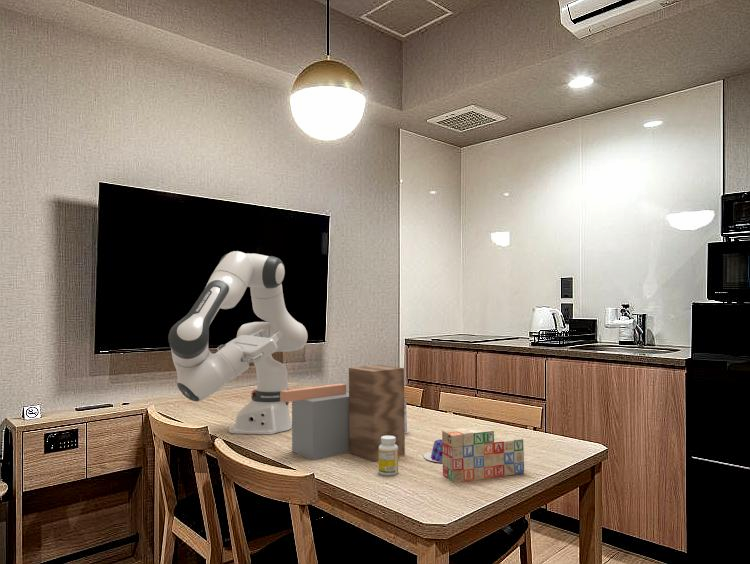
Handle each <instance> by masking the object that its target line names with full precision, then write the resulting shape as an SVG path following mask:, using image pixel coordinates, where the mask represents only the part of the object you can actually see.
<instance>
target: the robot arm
mask: <svg viewBox="0 0 750 564" xmlns="http://www.w3.org/2000/svg"><path fill="white" fill-rule="evenodd" d="M285 275H286V269H285V264H284V263H283V261H282V260H281V259H280V258H279V257H276V256H273V255H270V256H269V255H265V254H259V253H254V252H253V253H249V252H247V253H245V252H243V251H239V250H236V251H235V250H233V251H230V252H229V253H228V252H227V253H226V254H224V255H223V256H222V257H221V259H220V260H219V263H218V264H217V266H216V267H215V269H214V271H213V272H212V273H211V275H210V277H209V279H208V282H207V283H206V286H205V287H204V289H203V291H202V292H201V293H200V295H199V297H198V299H197V300H196V301H195V303H194V304H193V305H192V307H191V309H190V310H189V312H188V313H187V314H186V315H185V316H183V317H182V318H181V319H180V320H178V321H177V322H176V323H175V324H174V325H172V326H171V328H170V330H169V333H168V337H167V339H168V344H169V347H170V351H171V358H172V362H173V365H174V367H175V370H176V376H177V383H176V386H177V388H178V390H179V391H180V393H182V395H183V396H184V397H185V398H187V399H188V400H189V401H192V402H200V401H203V400H205V399H208V398H209V397H210V396H212V395H213V394H215V393H217V392H218V391H220V390H222V388H223V387H224V386H225V385H226V384H227V383H228V382H230V381H232V380H235V379H236V378H237V377H239V376H240V375H241V374H243V373H244V372H246V371H247V370H248V369H249V368H250V363H253V364H254V367H255V371H256V373H255V375H256V388H255V389H253V390H252V391H251V396H250V397H251V400H250V402H248V403H247V404H246V405H244V406H243V407H242V408H241V409H239V411H238V412H237V414H236V417H235V423H233V424H232V425H230V426H229V428H228V432H229V433H230V434H238V435H239V434H244V435H248V434H249V435H273V434H277V433H281V432H286V431H288V430H289V431H290V430H292V420H291V416H290V410H289V409H290V408H289V404H290V402H282V401H280V391H283V390H290V389H289V388H288V382H289V381H288V375H289V374H288V368H287V367H286V365H285V364H284V363H282V362H280V361H278V360H276V359H275V358H274V357H273V355H272V354H274V353H276V352H277V353H278V352H281V353H282V352H284V353H285V352H286V353H287V352H289V353H291V352H294V351H299V350H302V349H303V348H304V347H305V346H306V344H307V341H308V338H309V337H308V335H309V334H308V331H307V329H306V327H305V325H303V323H301V322H299V321H297V320H296V319H295V318H294V317H293V316H292V315H291V314H290V313H289V312H288V310H287V308H286V303H285V298H284V293H283V291H284V290H283V285H282V284H283V281H284V279H285ZM247 288H249V289H250V296H251V303H252V310H253V313H254V314H255V315H256V316H257V317H258V318H260V319H261V320H263V321H253V322H247V323H244V324H242V325H241V326H240V327H239V328H238V330H237V334H236V337H235V338H233V339H231V340H230V341H228V342H227V343H225V344H220V345H219V346H218V347H217V348H216V350H217V352H215V353H212V352H211V351H210V349H209V341H210V340H209V339H210V325H211V324H212V322H213V320H214V319H215V317H216V316H217V314H218V312H219V310H220V309H222V310H228V309H233V308H235V307H236V306H237V304H238V303H239V302H240V301H241V299H242V297H244V294H245V292H246V290H247Z"/></svg>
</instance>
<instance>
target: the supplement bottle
mask: <svg viewBox="0 0 750 564" xmlns="http://www.w3.org/2000/svg"><path fill="white" fill-rule="evenodd" d="M395 442H396V437H394V436H382V437H381V443H382V444H381V445H380V446H379V461H378V473H379V474H380V475H382V476H391V477H392V476H396V475H397V474H398V473H399V456H398V446H397V445H396V444H395Z"/></svg>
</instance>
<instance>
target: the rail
mask: <svg viewBox="0 0 750 564" xmlns="http://www.w3.org/2000/svg"><path fill="white" fill-rule="evenodd" d="M346 392H347V384H345V383H333V384H326V385H317V386H308V387H307V386H306V387H302V388H301V387H299V388H293V389H289V390H283V391H280V401H282V402H289V403H290V402H291V403H292V401H299V400H306V399H313V398H321V397H328V396H335V395H343V394H346Z"/></svg>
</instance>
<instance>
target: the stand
mask: <svg viewBox="0 0 750 564" xmlns="http://www.w3.org/2000/svg"><path fill="white" fill-rule="evenodd" d="M348 392H349V452H348V453H349V454H350V455H353V456H356V457H359V458H361V459H365V460H367V461H370V462H373V463H375V462H379V446H380V445H381V444H382V443H381V437H382V436H394V437H396V442H395V444H396V445H397V446H398V457H401V456H405V454H406V451H405V449H406V448H405V447H406V445H405V444H406V443H405V438H406V437H405V435H406V434H405V424H404V398H405V368H404V367H397V366H391V365H381V364H375V365H374V364H373V365H365V366H364V365H363V366H356V367H355V366H354V367H348Z"/></svg>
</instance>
